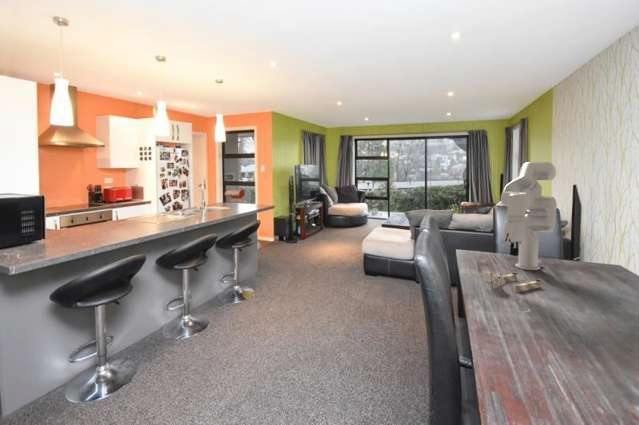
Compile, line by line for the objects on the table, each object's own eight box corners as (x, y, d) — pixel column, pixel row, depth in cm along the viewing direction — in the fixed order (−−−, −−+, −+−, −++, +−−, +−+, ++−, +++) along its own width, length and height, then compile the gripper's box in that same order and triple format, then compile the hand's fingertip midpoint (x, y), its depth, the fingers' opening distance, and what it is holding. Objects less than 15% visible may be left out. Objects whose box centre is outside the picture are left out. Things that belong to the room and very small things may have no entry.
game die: (496, 296, 167) (505, 278, 169) (505, 296, 159) (514, 277, 161) (480, 286, 169) (488, 268, 170) (487, 285, 160) (496, 267, 162)
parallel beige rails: (513, 279, 181) (513, 272, 180) (540, 287, 168) (540, 279, 168) (492, 283, 174) (492, 276, 174) (518, 292, 161) (519, 284, 161)
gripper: (518, 216, 172) (517, 251, 175) (498, 219, 166) (496, 255, 169) (533, 218, 166) (531, 255, 168) (512, 221, 159) (510, 259, 162)
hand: (513, 255), depth 169 cm, fingers closed
